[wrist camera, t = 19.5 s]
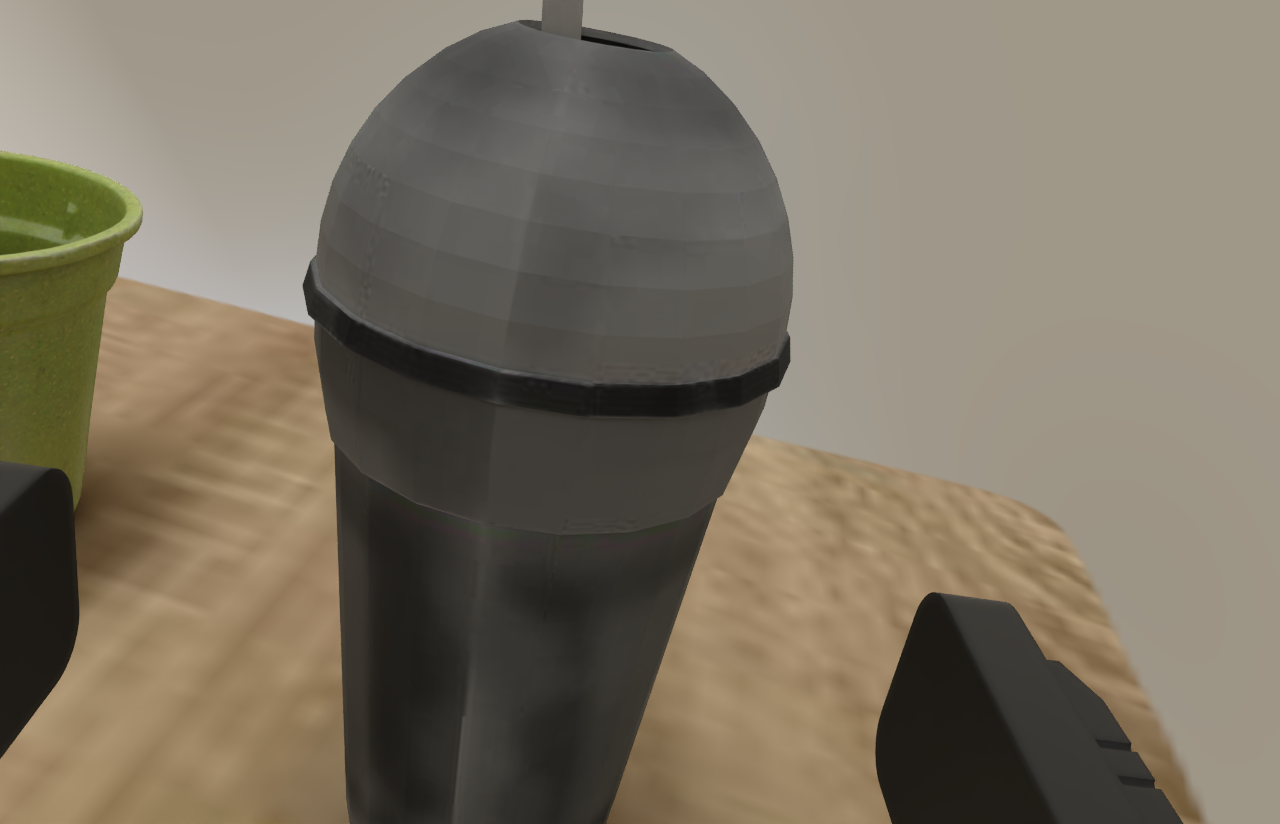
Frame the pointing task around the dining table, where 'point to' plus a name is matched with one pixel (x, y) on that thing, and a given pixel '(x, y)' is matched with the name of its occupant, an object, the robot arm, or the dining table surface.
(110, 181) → the plant pot
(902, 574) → the dining table surface
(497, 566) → the beverage cup
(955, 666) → the robot arm
